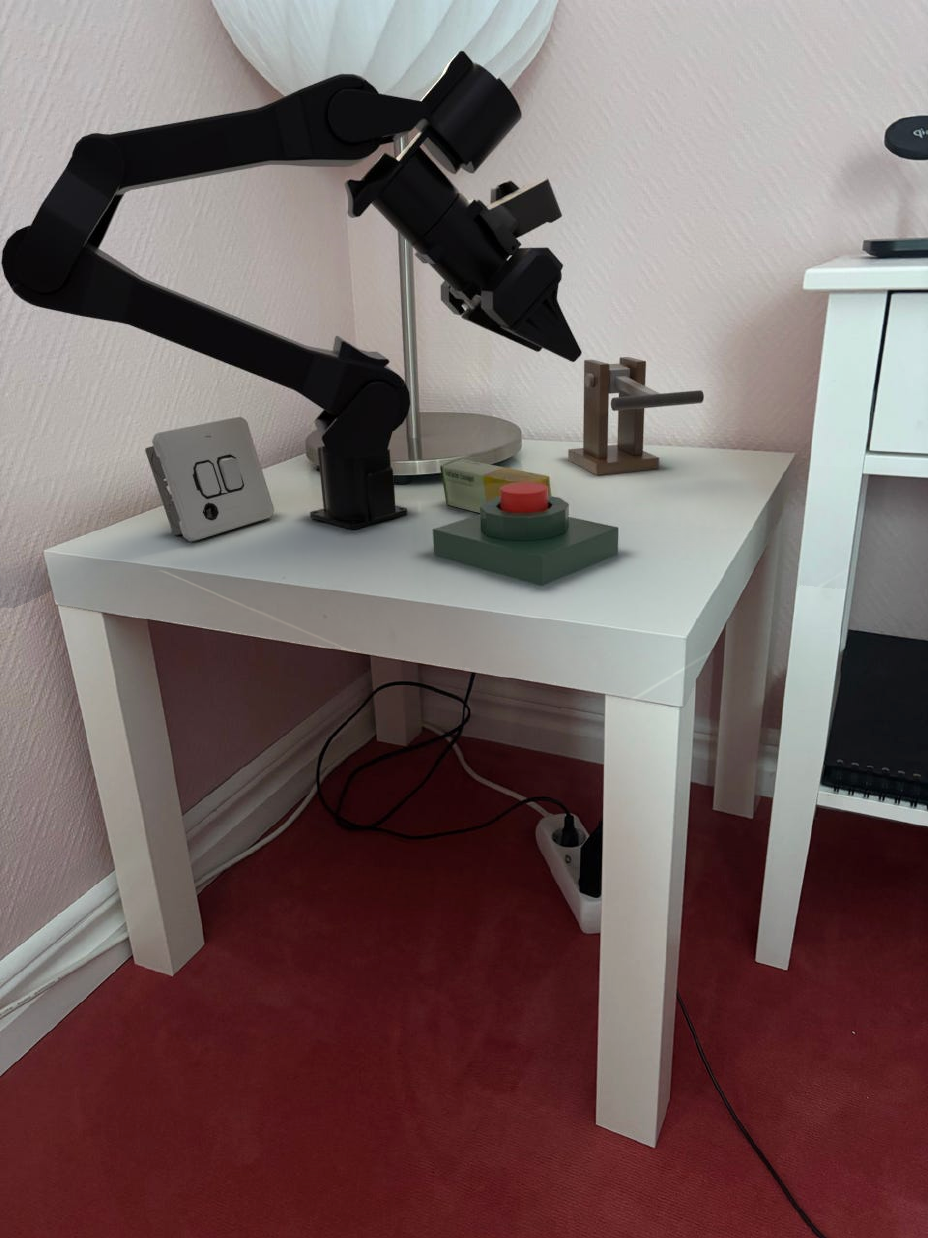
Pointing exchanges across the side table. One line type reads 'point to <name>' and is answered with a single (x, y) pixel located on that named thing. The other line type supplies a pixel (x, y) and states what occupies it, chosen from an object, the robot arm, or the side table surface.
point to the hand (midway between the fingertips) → (558, 352)
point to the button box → (526, 542)
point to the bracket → (595, 425)
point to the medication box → (480, 482)
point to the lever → (644, 392)
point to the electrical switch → (209, 478)
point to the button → (524, 497)
